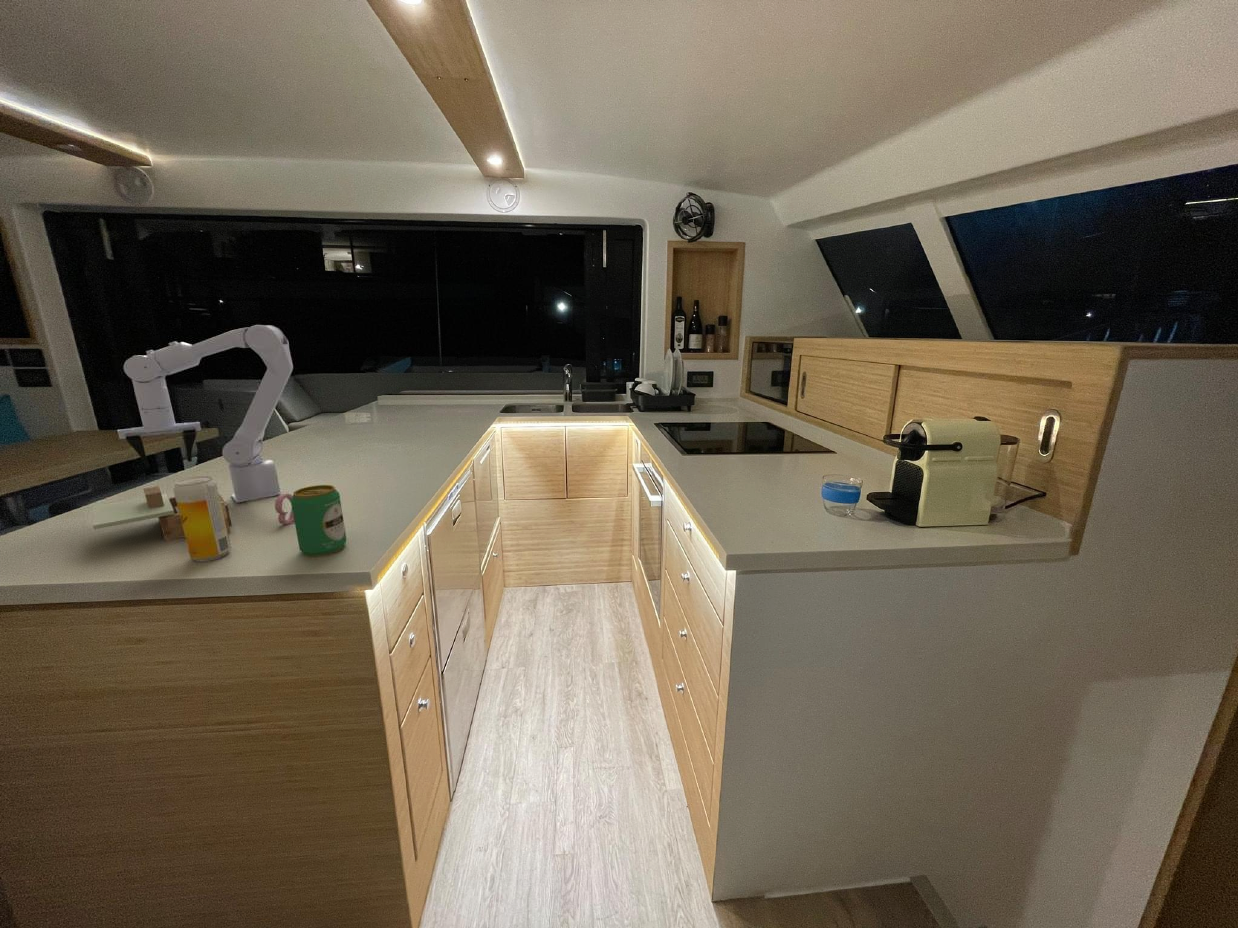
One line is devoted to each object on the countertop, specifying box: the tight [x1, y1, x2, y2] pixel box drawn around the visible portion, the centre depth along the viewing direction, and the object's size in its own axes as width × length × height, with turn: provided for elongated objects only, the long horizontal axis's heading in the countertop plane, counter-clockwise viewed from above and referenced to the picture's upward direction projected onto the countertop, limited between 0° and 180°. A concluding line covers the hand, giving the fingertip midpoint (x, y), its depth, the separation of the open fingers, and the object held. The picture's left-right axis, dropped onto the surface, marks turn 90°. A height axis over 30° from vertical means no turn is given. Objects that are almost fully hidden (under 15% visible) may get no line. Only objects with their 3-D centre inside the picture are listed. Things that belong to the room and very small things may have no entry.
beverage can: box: [290, 484, 348, 558], centre depth 96 cm, size 8×8×12 cm
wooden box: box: [157, 493, 233, 541], centre depth 111 cm, size 11×16×5 cm
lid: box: [92, 486, 174, 530], centre depth 103 cm, size 12×16×4 cm
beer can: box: [173, 475, 232, 562], centre depth 93 cm, size 6×6×15 cm
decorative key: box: [274, 493, 295, 525], centre depth 118 cm, size 7×1×20 cm
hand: (168, 463), depth 121 cm, fingers open, 7 cm apart
